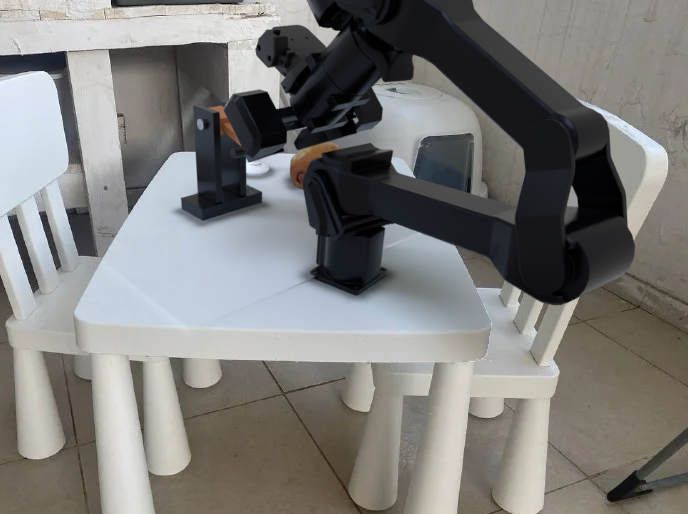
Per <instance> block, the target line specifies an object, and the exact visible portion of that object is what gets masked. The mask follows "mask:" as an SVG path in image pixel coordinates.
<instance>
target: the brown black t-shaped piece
mask: <svg viewBox="0 0 688 514" xmlns="http://www.w3.org/2000/svg"><path fill="white" fill-rule="evenodd" d="M209 108H210V109H213V110H216V111H218V112H220V135H224V134H227V135H228V136H230V137H231V138H232V139H233V140H234V141H235V142H237V143H238V144H239V145H240V146H241V144H240V142H239V140H238V138H237V136H236V134H235V132H234V130H233V128H232V126H231V124H230V122H229V120H228V118H227V116H226V114H225V112H224V107H223V106H219V105H216V106H212V107H209ZM230 154H231V157H232V158H234V159H235V158H239V157H243V156H245V152H244V150H243V148H242V146H241V147H237V148H232V149H231V150H230Z"/></svg>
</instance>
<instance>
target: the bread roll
mask: <svg viewBox="0 0 688 514" xmlns="http://www.w3.org/2000/svg"><path fill="white" fill-rule="evenodd" d="M343 148H344V147H343V146H340V145H338V144H336V143H334V142H332V141H329V142H326V143H322V144H318V145H315V146H312V147H308V148H305V149H301V150H297V152H296V153H295V154H294V155H293V156H292V157H291V158H290V163H289V178H290V180H291V183H292V184H293V186H294V187H296V188H297V189H300V190H303V179H304V176H305V174H306V172H307V169H308V166H309V164H310V161H311V160H313V159H316V158H320V157H322V155H321V154H322V153H324V152H329V151H334V150H338V149H343Z"/></svg>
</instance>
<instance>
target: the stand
mask: <svg viewBox="0 0 688 514" xmlns="http://www.w3.org/2000/svg"><path fill="white" fill-rule="evenodd" d="M227 102H228V100H226V99H223V100H219V101H218V106H223V107H225V105H226V103H227ZM210 108H211V107H208V106H205V105H202V104H195V105H192V110H193V111H192V112H193V113H192V114H193V115H192V116H193V131H194V133H193V135H194V149H195V151H194V152H195V167H196V168H195V169H196V185H197V193H193V194H189V195H186V196H182V197H181V198H180V203H181V205H180V206H181V210H183V211H184V212H186V213H188V214H190V215H192V216H193V217H195V218H197V219H198V220H200V221H202V222H203V221H207V220H210V219H214V218H217V217H220V216H223V215H227V214H230V213H233V212H236V211H240V210H243V209H246V208H249V207H252V206H256V205H258V204H262V203H263V191H261V190H260V189H257V188H255V187H253V186H252V185H249V184H247V174H246V163H247V159H246V157H245V156H243V157H239V158H235V159H234V158H232V157H231V154H230V150H231V149H232V148H237V147H241V146H240V145H239V144H238V143H237V142H235V141H234V140H233V139H232V138H231V137H230V136H228V135H227V134H224V135H220V112H218V111H216V110H213V109H210Z"/></svg>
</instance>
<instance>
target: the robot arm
mask: <svg viewBox="0 0 688 514" xmlns="http://www.w3.org/2000/svg"><path fill="white" fill-rule="evenodd" d="M306 2H307V4H308V7H309V9H310V11H311V13H312V15H313V17H314V20H315V22H316V23H317V25H318V27H319V28H323V29H331V30H333V31H335V32H338V33H337V34H336V35H335V37H334V38H333V39H331V41H330V43H329V44H328V45H325V44H324V42H322V40H321V39H319V38H318V37H317V36H316V35H315V34H314V33H313V32H312V31H311V30H310V29H309V28H307V27H306V26H304V25H301V24H290V25H289V24H288V25H279V26H273V27H272V28H270V29H265V30H264V31H263V33H262V34H261V35H260V36H259V37H258V39H257V43H256V46H255V50H254V52H255V55H256V57H257V58H258V59H259V60H260V62H262V64H263V65H264V66H265V67H266V68H268V69H270V68H275V69H276V70H277V72H278V73H279V74H280V75H281V76H283V80H282V81H281V82H280V83H279V84H280V86H281V88H282V90H283V92H284V94H286V95H287V94H289V96H290V97H289V99H288V100H289V106H285V107H279V108H277V107H276V105H275V104H274V101H273V100H272V97H271V95H270V93H269V92H268V90H267V91H266V90H264V89H260V88H259V89H253V90H248V91H242V92H236V93H232V94H231V96H230V98H229V99H228V100H227V101H228V102H227V103H226V105H225V107H224V112H225V114H226V116H227V118H228V120H229V122H230V124H231V126H232V128H233V130H234V132H235V134H236V136H237V138H238V140H239V142H240V144H241V146H242V148H243V150H244V152H245V157H246V162H247V161H248V162H249V163H250V162H253V161H257V160H260V161H261V160H263V159H266V158H269V157H272V156H276V155H278V154H283V153H285V149H284V147H285V145H287V143H288V133H291V132H296V131H299V133H298V135H297V136H296V138H295V140H293V146H294V147H295V149H296V150H297V151H299V150H301V149H305V148H308V147H312V146H315V145H318V144H322V143H326V142H332V141H336V140H340V139H343V138H346V137H350V136H354V135H356V134H358V133H360V132H364V131H368V130H369V131H370V130H372V129H374V128H375V127H376V126H377V125H379V123H380V122H381V121H383V112H384V107H383V106H382V104H381V102H380V100H379V98H378V96H377V95H376V92H375V91H374V89H373V87H374V86H375V85H376V84H377V83H378V82H379V81H380V80H382V82H383V83H395V82H407V81H412V80H413V79H414V77H415V76H414V75H415V65H414V61H413V59H414V56H415V57H419V58H421V59H423V60H425V61H427V62H428V63H430V64H431V65H433V66H434V67H435V68H436V70H438V71H439V72H440V73H441V74H442V75H443V76H444V77H445V78H446V79H448V80H449V81H450V82H451V83H452V84H453V85H454V86H455V87H456V88H457V89H458V90H459V91H460V92H461V93H462V94H464V95H465V97H467V98H468V99H469V100H470V101H471V102H472V103H473V104H474V105H475V106H476V107H477V108H478V109H479V110H480V111H482V113H484V114H485V115H486V116H487V117H488V118H489V119H490V120H491V121H492V122H493V123H494V124H495V125H496V126H497V127H498V128H499V129H501V130H502V131H503V132H504V133H505V134H506V135H507V136H508V137H509V138H510V139H511V140H512V141H514V142H515V144H516V145H518V146H519V147H520V148H521V150H522V151H523V162H524V176H523V180H522V184H521V188H520V193H519V197H518V200H517V205H512V204H509V203H506V202H502V201H498V200H495V199H492V198H491V199H490V198H488V197H484V196H480V195H477V194H473V193H470V192H467V191H463V190H460V189H456V188H452V187H449V186H445V185H442V184H438V183H435V182H431V181H427V180H424V179H421V178H417V177H414V176H409V175H407V174H402V173H400V172H398V171H397V168H395V166H394V164H393V163H392V160H393V155H394V150H393V149H386V148H385V149H383V148H379V147H377V146H375V145H374V144H373V143H371V142H368V143H363V144H357V145H354V146H348V147H342V148H343V149H338V150H334V151H329V152H324V153H322V154H321V155H322V157H320V158H316V159H313V160H311V161H310V164H309V166H308V169H307V172H306V174H305V176H304V179H303V189H302V190H303V197H304V201H305V208H306V213H307V219H308V225H309V227H311V228H312V229H314V231H315V235H316V238H317V239H316V253H315V254H316V255H315V263H316V265H317V266H316V267H314V268H313V269H311V270H310V271H309V274H310V275H311V276H313V278H314V279H317V280H319V281H321V282H324V283H327V284H328V285H332V286H334V287H336V288H338V289H341V290H344V291H346V292H348V293H351V294H353V295H359V294H361V293H362V292H364V291H365V290H366V289H368V288H369V287H370V286H372V285H373V284H375V283H376V282H377V281H379V280H380V279H381V278H384V276H386V275H387V274H388V268H386V267H384V266H382V258H383V252H384V243H385V233H386V227H385V226H389V225H398V226H401V227H403V228H406V229H409V230H411V231H414V232H417V233H419V234H422V235H425V236H428V237H430V238H433V239H434V240H435V239H436V240H438V241H441V242H444V243H446V244H449V245H452V246H454V247H457V248H460V249H462V250H464V251H468V252H471V253H473V254H476V255H479V256H481V257H483V258H486V259H488V260H489V261H490V262H491V263H492V265H493V266H494V268H495V269H496V270H497V272H498V273H499V275H500V276H501V277H502V279H503V280H504V281H505V282H506V283H507V284H509V285H511V286H513V287H514V288H515V289H517V290H519V291H521V292H523V293H524V294H526V295H527V296H529V297H531V298H533V299H534V300H536V301H538V302H539V303H542V304H545V305H550V306H562V305H565V304H568V303H570V302H573V301H574V300H577V299H578V298H581V297H583V296H585V295H587V294H589V293H590V292H593V291H594V290H596V289H597V290H598V289H599V288H601V287H604V286H605V285H607V284H609V283H611V282H613V281H615V280H617V279H619V278H621V277H623V276H624V275H625V274H626V273H627V272H628V271H629V270H630V268H631V266H632V264H633V262H634V260H635V255H636V254H635V253H636V243H635V239H634V235H633V233H632V232H631V230H630V228H629V223H628V222H629V221H628V204H627V192H626V189H625V187H624V184H623V181H622V179H621V176H620V174H619V172H618V170H617V167H616V165H615V162H614V160H613V157H612V152H611V151H612V150H611V149H612V148H611V135H610V133H611V132H610V128H609V124H608V121H607V119H606V118H605V117H604V116H603V114H602V113H600V112H598V111H597V110H595V109H594V108H592V107H588V106H586V105H585V104H583V103H582V102H580V100H579V99H577V98H576V97H575V96H574V95H572V94H571V93H570V92H569V91H567V90H566V89H565V88H564V87H563V86H562V85H561V84H559V83H558V82H557V81H556V80H555V79H553V78H552V77H551V76H550V75H549V74H548V73H546V72H545V71H544V70H543V69H542V68H541V67H540V66H538V65H537V64H536V63H535V62H533V61H532V60H531V59H530V58H529V57H528V56H526V55H525V54H524V53H523V52H521V50H519V49H518V48H517V47H515V46H514V45H513V44H512V43H511V42H510V41H508V40H507V39H506V38H505V37H504V36H503V35H502V34H500V33H499V32H498V31H497V30H495V29H494V28H493V27H492V26H491V25H490V24H488V22H487V21H485V20H484V19H483V18H482V16H481V15H480V14H479V13H478V12H477V10H476V9H475V5H474V1H473V0H306ZM356 119H357V120H358V121H357V122H355V120H356ZM572 189H573V192H574V193H575V196H576V199H577V206H571V205H570V206H569V205H568V202H569V199H570V195H571V194H570V193H571V190H572Z"/></svg>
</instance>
